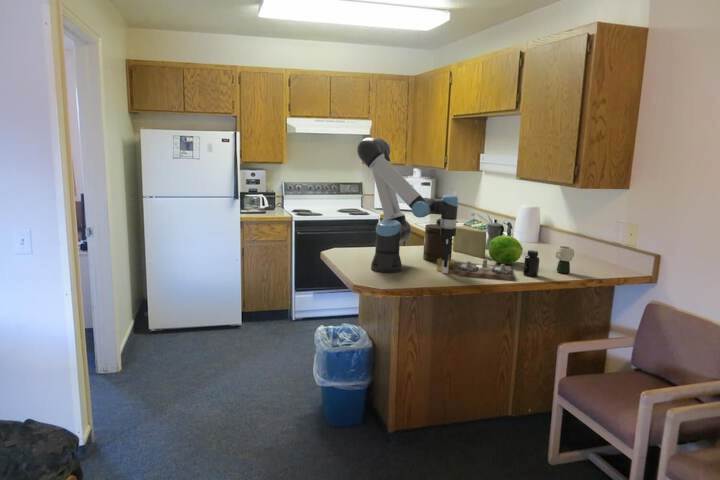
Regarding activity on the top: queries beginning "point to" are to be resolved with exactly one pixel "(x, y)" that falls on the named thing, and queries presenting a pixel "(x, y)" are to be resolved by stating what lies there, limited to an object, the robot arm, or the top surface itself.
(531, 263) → the supplement bottle
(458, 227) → the beige rectangular block
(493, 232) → the coffeepot
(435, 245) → the wooden container
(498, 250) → the lettuce
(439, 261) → the faceted octagonal washer
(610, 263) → the top surface
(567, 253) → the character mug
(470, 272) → the gear board
